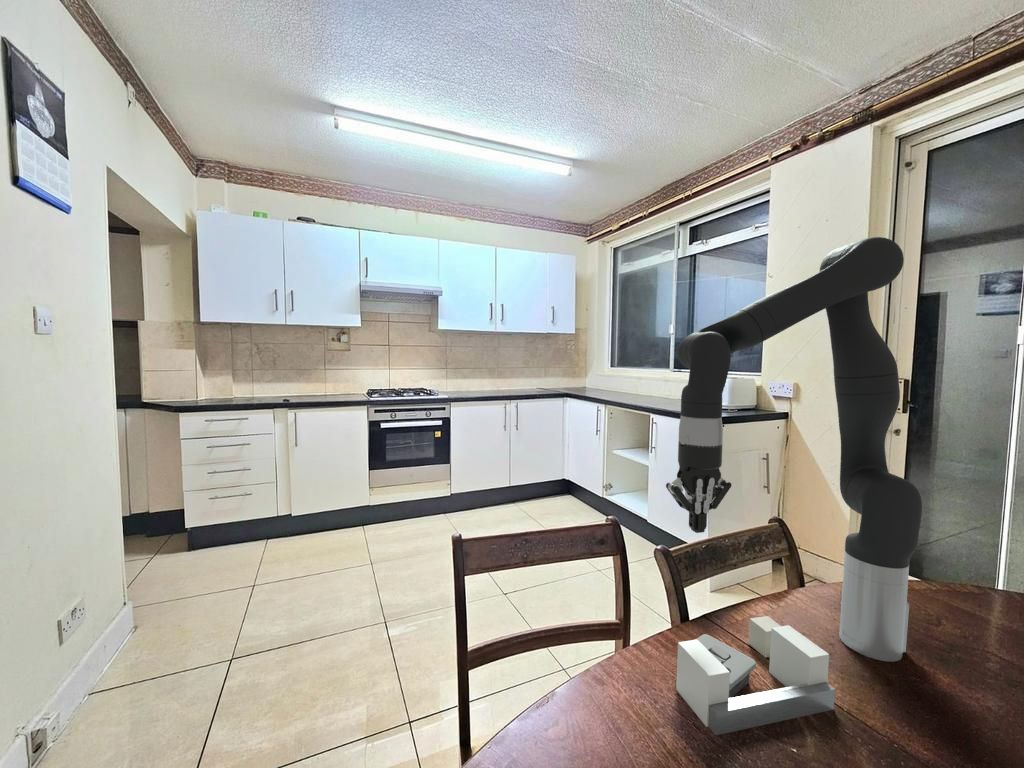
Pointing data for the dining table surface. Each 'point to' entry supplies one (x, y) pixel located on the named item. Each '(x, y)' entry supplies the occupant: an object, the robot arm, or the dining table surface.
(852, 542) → the robot arm
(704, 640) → the electrical switch
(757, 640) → the block
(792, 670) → the block
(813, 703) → the grey rectangular bar
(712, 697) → the block
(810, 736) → the dining table surface
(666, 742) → the dining table surface
